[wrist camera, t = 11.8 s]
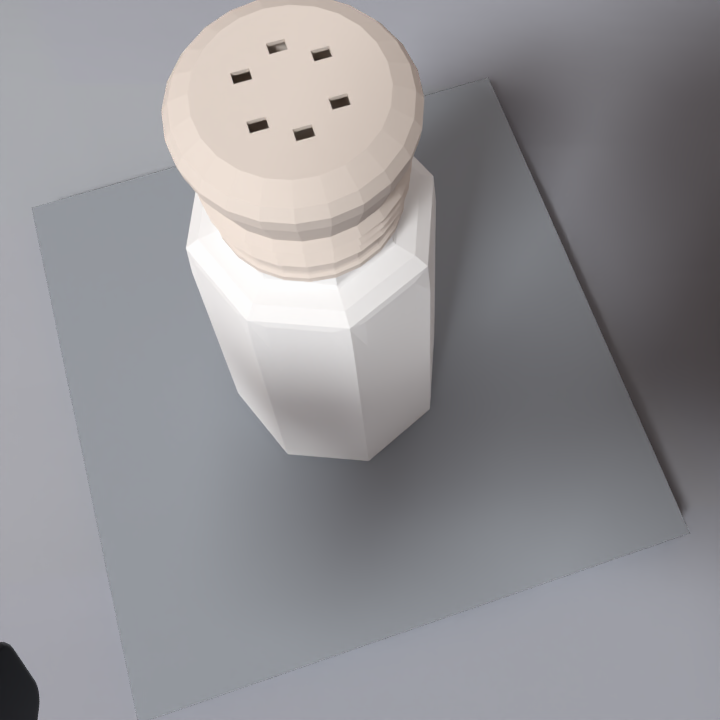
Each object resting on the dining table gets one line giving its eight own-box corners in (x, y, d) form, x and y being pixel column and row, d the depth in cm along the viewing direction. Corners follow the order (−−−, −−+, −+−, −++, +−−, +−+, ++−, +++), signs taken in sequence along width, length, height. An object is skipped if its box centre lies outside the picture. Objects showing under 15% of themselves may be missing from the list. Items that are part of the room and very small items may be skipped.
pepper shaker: (214, 302, 18) (-12, -45, 7) (401, 246, 18) (449, -161, 8) (266, 494, 16) (83, 415, 6) (468, 429, 17) (641, 244, 6)
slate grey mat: (675, 533, 17) (689, 533, 16) (149, 714, 16) (138, 723, 15) (483, 94, 20) (488, 77, 20) (44, 220, 19) (31, 207, 19)
